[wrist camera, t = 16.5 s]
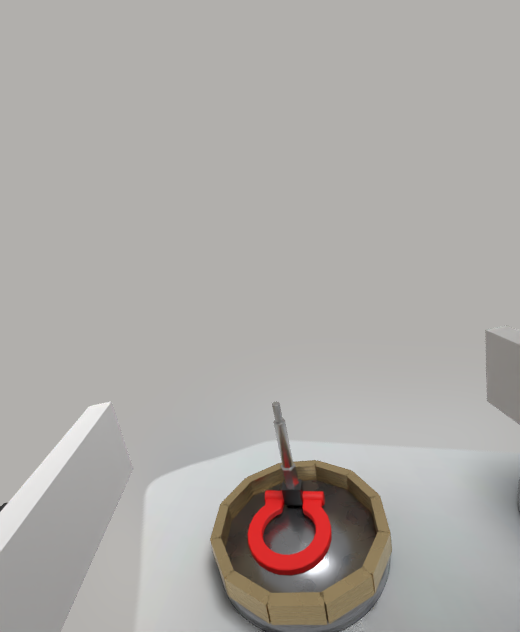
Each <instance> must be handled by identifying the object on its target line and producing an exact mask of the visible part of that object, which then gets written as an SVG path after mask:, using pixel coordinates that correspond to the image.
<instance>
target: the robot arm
mask: <svg viewBox="0 0 520 632" xmlns="http://www.w3.org/2000/svg"><path fill="white" fill-rule="evenodd" d="M485 331H486V332H485V333H486V377H487V401H488V402H489V403H491V404H492V405H493V406H495V407H496V408H498V409H499V410H500V411H502V412H503V413H504V414H506V415H507V416H508V417H510V418H511V419H513V420H514V421H515V422H517V423H518V424H520V330H517V329H515V328H512V327H510V326H503V327H497V328H492V329H487V330H485ZM132 470H133V466H132V463H131V460H130V457H129V454H128V451H127V448H126V444H125V442H124V438H123V435H122V432H121V429H120V426H119V423H118V420H117V417H116V414H115V411H114V408H113V405H112V402H107V403H102V404H96V405H91V406H89V407H88V408H87V410H86V411H85V412H84V413H83V414H82V416H81V417H80V418H79V419H78V420H77V422H76V423H75V424H74V425H73V426H72V427H71V429H70V430H69V431H68V432H67V433H66V435H65V436H64V437H63V438H62V439H61V441H60V442H59V443H58V444H57V445H56V446H55V448H54V449H53V450H52V451H51V452H50V454H49V455H48V456H47V457H46V458H45V460H44V461H43V462H42V463H41V464H40V466H39V467H38V468H37V469H36V470H35V471H34V473H33V474H32V475H31V476H30V477H29V479H28V480H27V481H26V482H25V483H24V485H23V486H22V487H21V488H20V489H19V491H18V492H17V493H16V494H15V495H14V496H13V498H12V499H11V500H10V501H9V502H8V503H4V504H3V505H2V506H0V632H61V629H62V627H63V625H64V623H65V620H66V618H67V616H68V614H69V612H70V609H71V607H72V605H73V603H74V600H75V598H76V596H77V593H78V591H79V589H80V587H81V585H82V582H83V580H84V578H85V576H86V573H87V571H88V569H89V567H90V565H91V562H92V560H93V558H94V556H95V553H96V551H97V549H98V547H99V544H100V542H101V540H102V538H103V536H104V533H105V531H106V529H107V526H108V524H109V522H110V520H111V517H112V515H113V513H114V511H115V509H116V506H117V504H118V502H119V500H120V498H121V495H122V493H123V491H124V489H125V486H126V484H127V482H128V479H129V477H130V475H131V473H132ZM518 506H519V511H520V479H519V484H518Z"/></svg>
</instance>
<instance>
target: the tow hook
mask: <svg viewBox="0 0 520 632" xmlns="http://www.w3.org/2000/svg"><path fill="white" fill-rule="evenodd" d="M272 407H273V412H274V417H275V421H274V427H275V431H276V436H277V441H278V446H279V451H280V456H281V461H282V465H281V470H282V475H283V479H284V480H283V484H282V489H281V490H282V491H276V490H266V491H265V506H263V507H262V508H261V509H260V510H259V511H258V512H257V513H256V514H255V515H254V517H253V519H252V521H251V523H250V525H249V530H248V545H249V548H250V551H251V554H252V556H253V558H254V559H255V560H256V562H257V563H258V564H259V565H260V566H261V567H263V568H264V569H266V570H267V571H269V572H272V573H275V574H278V575H295V574H299V573H304V572H305V571H307V570H309V569H311V568H313V567H315V566H316V565H317V564H318V563H319V562H320V561H321V560H322V559H323V558H324V556H325V555H326V553H327V552H328V550H329V547H330V543H331V540H332V531H331V524H330V521H329V518H328V515H327V514H326V512H325V511H324V510H323V508H322V506H324V504H325V497H324V492H323V491H304V489H303V484H302V480H301V479H298V476H297V471H296V466H295V464H294V462H293V460H292V455H291V450H290V445H289V440H288V434H287V429H286V424H285V420H284V419H283V418H282V414H281V409H280V403H279V402H274V403H273V404H272ZM284 504H285V505H286V506H303V507H302V509H303V513H304V514H305V515H306V516H308V517H309V518H310V519H311V520H312V521H313V523H314V524H315V527H316V533H315V536H314V539H313V540H312V542H311V543H310V545H309V546H307V547H306V548H305V549H304V550H302V551H300V552H298V553H295V554H290V555H283V554H279V553H275V552H274V551H272V550H270V549H269V548H268V547H267V546H266V544H265V542H264V540H263V534H264V530H265V528H266V526H267V524H268V523H269V522H270V520H271V519H273V518H274V517H275V516H277V515H279V514H281V513H282V512H283V506H284Z"/></svg>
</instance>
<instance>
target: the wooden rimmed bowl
mask: <svg viewBox="0 0 520 632" xmlns="http://www.w3.org/2000/svg"><path fill="white" fill-rule="evenodd" d="M294 464H295V466H296V471H297V476H298V479H301V480H302V484H303V489H304V491H323V492H324V497H325V504H324V506H322V508H323V510H324V511H325V512H326V514H327V515H328V518H329V521H330V524H331V531H332V540H331V543H330V547H329V550H328V552H327V553H326V555H325V556H324V558H323V559H322V560H321V561H320V562H319V563H318V564H317V565H316V566H315V567H313V568H311V569H309V570H307V571H305V572H304V573H299V574H295V575H278V574H275V573H272V572H269V571H267V570H266V569H264V568H263V567H261V566H260V565H259V564H258V563H257V562H256V560H255V559H254V558H253V556H252V554H251V551H250V548H249V545H248V530H249V525H250V523H251V521H252V519H253V517H254V515H255V514H256V513H257V512H258V511H259V510H260V509H261V508H262V507H263V506H265V491H266V490H276V491H282V490H281V489H282V484H283V480H284V479H283V475H282V470H281V465H282V463H278V464H276V465H274V466H271V467H269V468H267V469H264V470H262V471H260V472H258V473H255V474H253V475H251V476H249V477H247V478H245V479H244V480H243V481H242V482H241V483H240V484H239V485H238V486H237V487H236V488H235V489H234V490H233V492H232V493H231V494H230V495H229V496H228V497H227V498H226V499H225V500H224V501H223V502H222V503H221V504H220V507H219V511H218V514H217V518H216V521H215V525H214V528H213V532H212V535H211V538H210V541H211V545H212V549H213V553H214V557H215V560H216V563H217V565H218V568H219V571H220V574H221V578H222V582H223V586H224V589H225V591H226V593H227V595H228V598H229V599H230V601H231V602H232V604H233V605H234V607H235V608H236V609H237V610H238V611H239V613H240V614H241V615H242V616H243V617H245V618H246V619H247V620H248V621H249V622H251V623H252V624H254V625H255V626H257V627H259V628H260V629H262V630H264V631H267V632H339V631H341V630H343V629H345V628H347V627H349V626H351V625H352V624H354V623H355V622H357V621H358V620H359V619H360V618H362V617H363V616H364V615H365V614H366V613H367V612H368V611H369V610H370V609H371V608H372V607H373V606H374V604H375V603H376V601H377V600H378V598H379V597H380V595H381V593H382V591H383V589H384V587H385V584H386V581H387V577H388V574H389V566H390V555H391V552H392V546H391V536H390V530H389V526H388V523H387V519H386V516H385V512H384V509H383V505H382V501H381V498H380V496H379V494H378V493H377V492H375V491H374V490H373V489H372V488H371V487H370V486H369V485H368V484H366V483H365V482H364V481H363V480H362V479H361V478H360V477H359V476H357V475H356V474H355V473H354V472H353V471H352V472H351V470H348V469H345V468H341V467H338V466H334V465H331V464H328V463H324V462H321V461H318V460H317V461H316V460H312V461H298V462H294ZM302 507H303V506H286V505H285V504H284V506H283V512H282V513H281V514H279V515H277V516H275V517H274V518H273V519H271V520H270V522H269V523H268V524H267V526H266V528H265V530H264V534H263V540H264V542H265V544H266V546H267V547H268V548H269V549H270V550H272V551H274V552H275V553H279V554H283V555H290V554H295V553H298V552H300V551H302V550H304V549H305V548H306V547H307V546H309V545H310V543H311V542H312V540H313V539H314V536H315V533H316V527H315V524H314V523H313V521H312V520H311V519H310V518H309V517H308V516H306V515H305V514H304V513H303V509H302Z"/></svg>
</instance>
